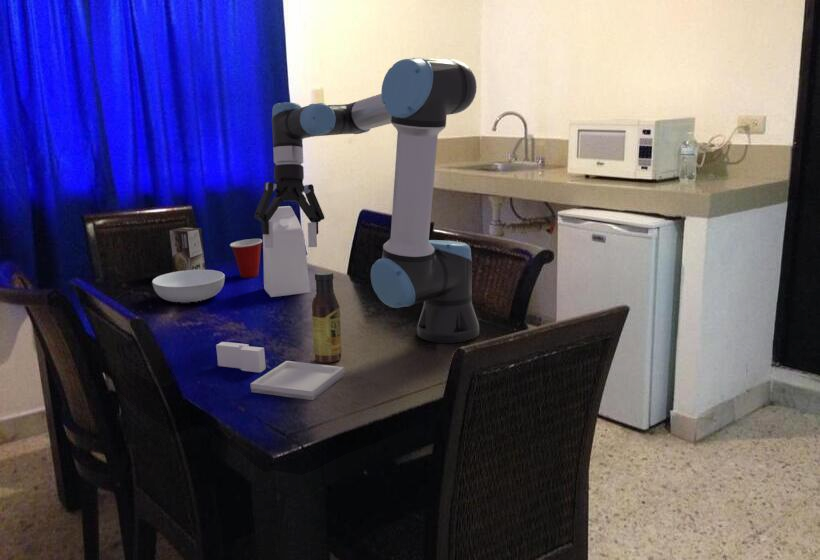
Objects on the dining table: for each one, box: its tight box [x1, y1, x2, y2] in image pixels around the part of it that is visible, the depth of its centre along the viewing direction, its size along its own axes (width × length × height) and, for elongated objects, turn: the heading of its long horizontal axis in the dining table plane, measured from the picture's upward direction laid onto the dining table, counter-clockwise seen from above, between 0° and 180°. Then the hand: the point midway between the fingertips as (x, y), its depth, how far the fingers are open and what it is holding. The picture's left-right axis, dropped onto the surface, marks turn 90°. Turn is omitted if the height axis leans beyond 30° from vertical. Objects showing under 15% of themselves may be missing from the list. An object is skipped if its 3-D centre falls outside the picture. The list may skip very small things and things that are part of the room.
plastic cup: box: [229, 238, 263, 279], centre depth 249 cm, size 11×11×12 cm
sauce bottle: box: [311, 270, 343, 364], centre depth 164 cm, size 6×6×20 cm
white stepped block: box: [215, 341, 267, 373], centre depth 162 cm, size 15×11×6 cm
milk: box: [262, 205, 311, 298], centre depth 226 cm, size 12×12×26 cm
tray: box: [250, 360, 346, 401], centre depth 152 cm, size 14×14×2 cm
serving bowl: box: [151, 269, 226, 304], centre depth 221 cm, size 21×21×7 cm
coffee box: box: [169, 227, 206, 272], centre depth 252 cm, size 9×6×16 cm
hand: (291, 247), depth 191 cm, fingers open, 13 cm apart
